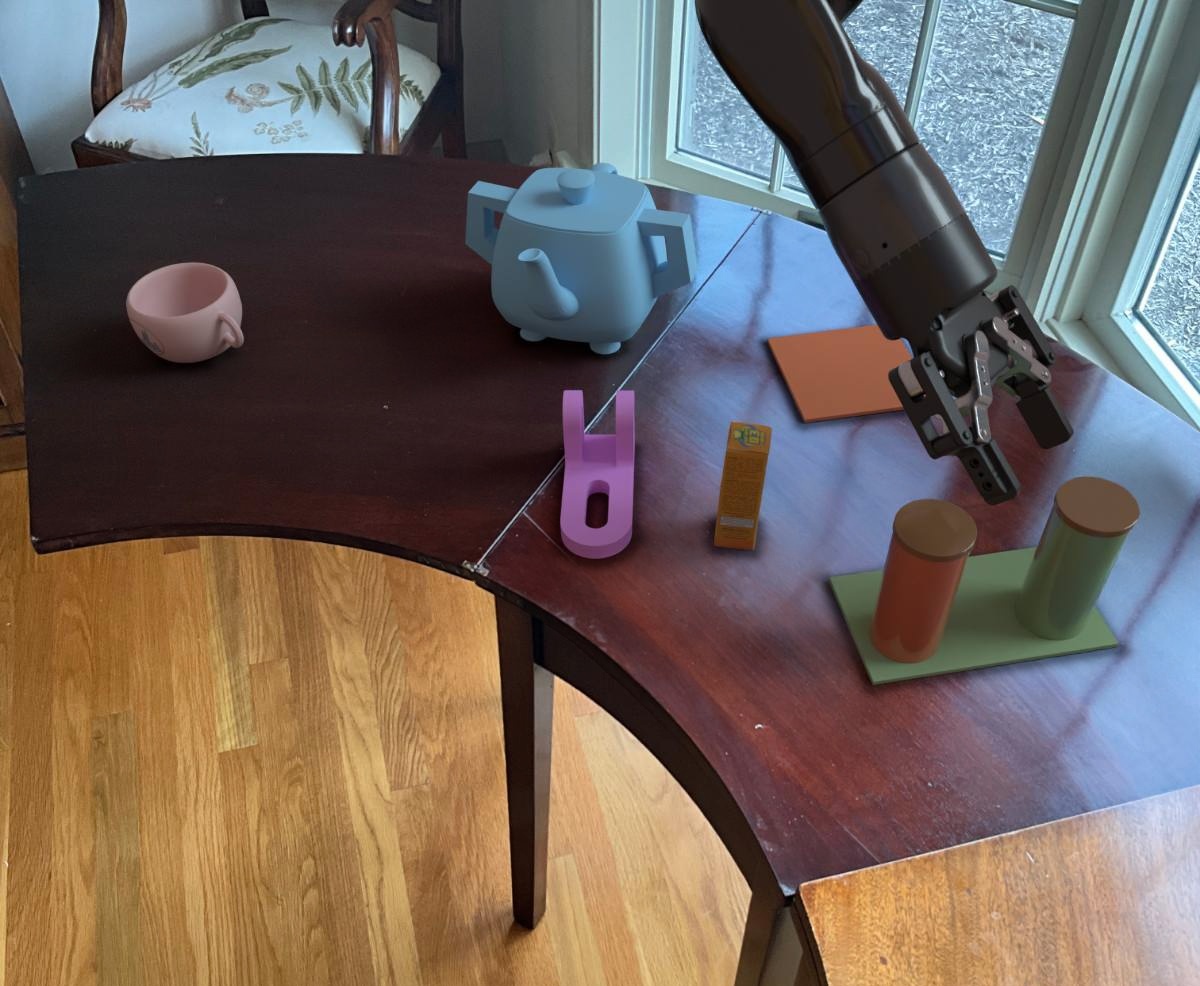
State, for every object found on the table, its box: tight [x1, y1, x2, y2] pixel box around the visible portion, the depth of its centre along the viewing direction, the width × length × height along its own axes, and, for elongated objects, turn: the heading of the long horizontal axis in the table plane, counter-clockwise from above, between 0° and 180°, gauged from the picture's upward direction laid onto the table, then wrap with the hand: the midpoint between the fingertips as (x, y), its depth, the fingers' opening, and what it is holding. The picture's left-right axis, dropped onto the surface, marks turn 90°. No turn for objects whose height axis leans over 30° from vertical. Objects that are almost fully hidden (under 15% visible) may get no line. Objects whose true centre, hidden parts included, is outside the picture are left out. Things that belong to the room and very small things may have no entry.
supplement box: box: [713, 421, 773, 551], centre depth 83 cm, size 3×3×10 cm
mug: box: [125, 262, 245, 364], centre depth 103 cm, size 12×10×6 cm
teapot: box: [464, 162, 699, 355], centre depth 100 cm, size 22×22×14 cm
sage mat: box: [828, 546, 1119, 686], centre depth 81 cm, size 18×10×1 cm, turn 100°
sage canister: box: [1015, 476, 1141, 640], centre depth 76 cm, size 5×5×11 cm
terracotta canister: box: [869, 498, 978, 663], centre depth 75 cm, size 5×5×11 cm
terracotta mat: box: [766, 324, 926, 424], centre depth 100 cm, size 12×12×1 cm
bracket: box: [559, 389, 636, 560], centre depth 87 cm, size 13×6×7 cm, turn 178°
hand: (1033, 470), depth 70 cm, fingers open, 8 cm apart
